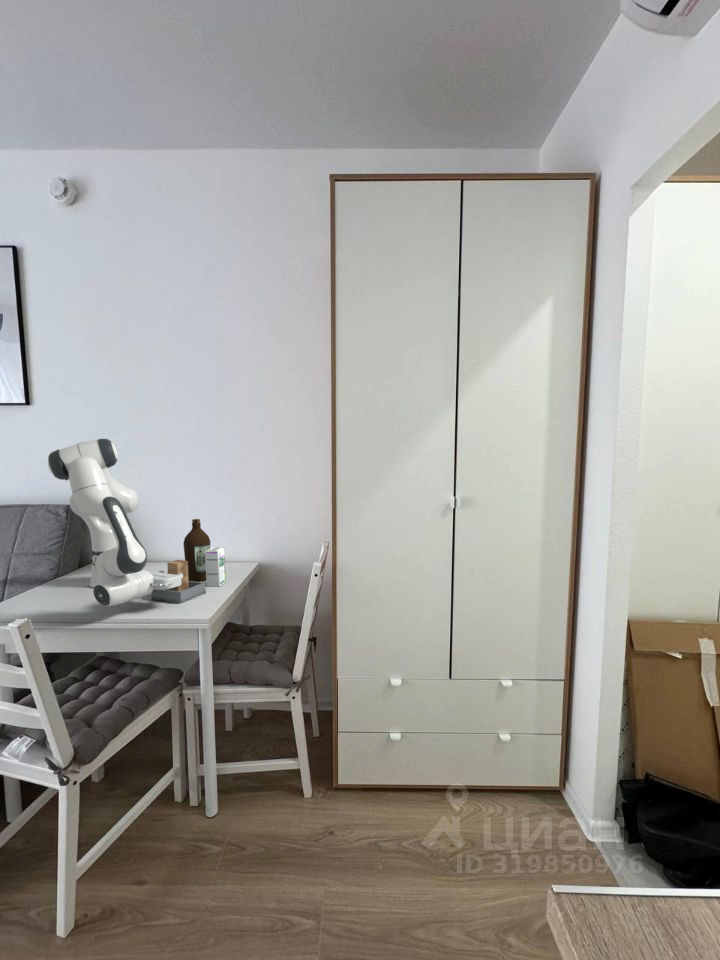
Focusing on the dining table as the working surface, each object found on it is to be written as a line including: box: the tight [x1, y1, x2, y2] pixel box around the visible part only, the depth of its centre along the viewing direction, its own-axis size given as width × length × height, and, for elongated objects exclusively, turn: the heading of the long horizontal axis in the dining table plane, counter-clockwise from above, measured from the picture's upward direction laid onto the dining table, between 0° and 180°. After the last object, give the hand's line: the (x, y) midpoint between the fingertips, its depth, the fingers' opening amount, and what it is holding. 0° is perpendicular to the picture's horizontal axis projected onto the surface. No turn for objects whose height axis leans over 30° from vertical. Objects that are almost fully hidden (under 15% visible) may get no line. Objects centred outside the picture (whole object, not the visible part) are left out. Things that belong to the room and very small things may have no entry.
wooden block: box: [166, 559, 189, 592], centre depth 204 cm, size 5×5×12 cm
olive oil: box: [182, 518, 211, 582], centre depth 227 cm, size 11×11×25 cm
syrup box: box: [205, 546, 227, 588], centre depth 219 cm, size 6×6×14 cm
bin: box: [150, 581, 207, 604], centre depth 204 cm, size 14×14×4 cm
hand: (172, 574), depth 201 cm, fingers open, 8 cm apart
